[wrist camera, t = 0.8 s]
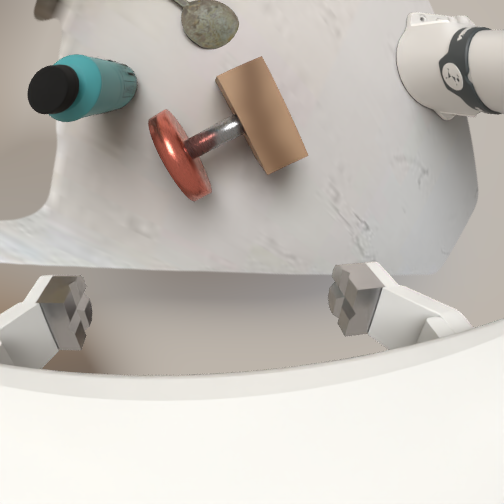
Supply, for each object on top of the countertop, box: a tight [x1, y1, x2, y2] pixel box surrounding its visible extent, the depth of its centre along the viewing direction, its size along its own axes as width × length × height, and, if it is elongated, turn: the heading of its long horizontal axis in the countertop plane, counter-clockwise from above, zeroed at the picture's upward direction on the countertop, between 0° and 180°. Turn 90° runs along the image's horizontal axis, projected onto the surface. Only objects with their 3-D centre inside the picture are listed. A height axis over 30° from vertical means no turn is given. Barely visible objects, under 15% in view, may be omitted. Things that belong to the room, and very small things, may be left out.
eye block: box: [215, 56, 308, 175], centre depth 34 cm, size 5×12×9 cm, turn 26°
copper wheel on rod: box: [148, 109, 246, 201], centre depth 33 cm, size 12×11×11 cm
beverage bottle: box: [28, 54, 137, 122], centre depth 25 cm, size 6×7×20 cm
